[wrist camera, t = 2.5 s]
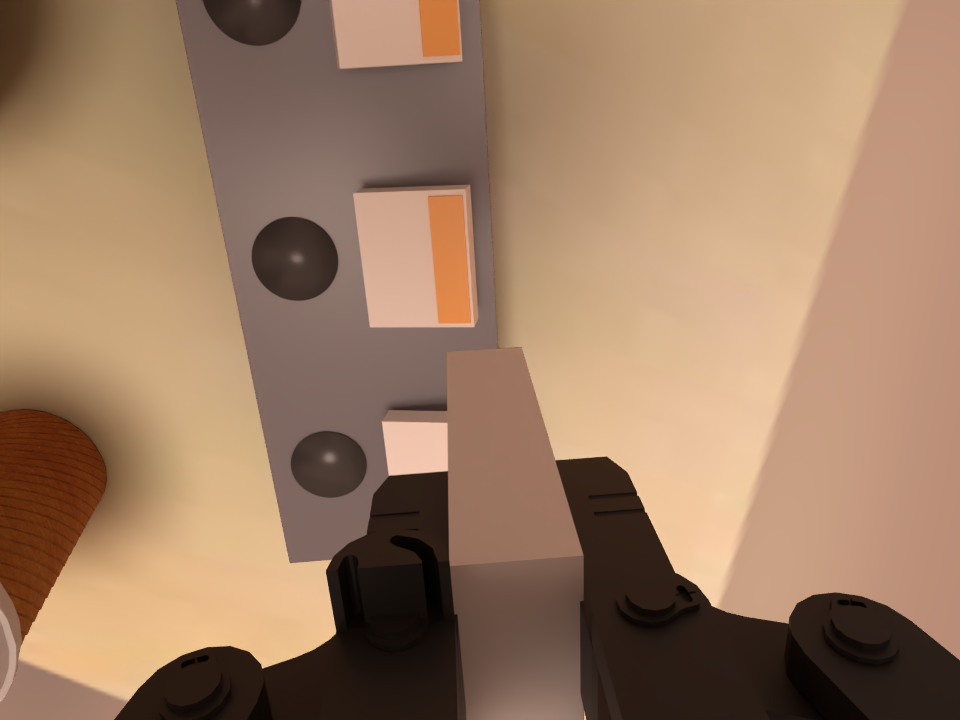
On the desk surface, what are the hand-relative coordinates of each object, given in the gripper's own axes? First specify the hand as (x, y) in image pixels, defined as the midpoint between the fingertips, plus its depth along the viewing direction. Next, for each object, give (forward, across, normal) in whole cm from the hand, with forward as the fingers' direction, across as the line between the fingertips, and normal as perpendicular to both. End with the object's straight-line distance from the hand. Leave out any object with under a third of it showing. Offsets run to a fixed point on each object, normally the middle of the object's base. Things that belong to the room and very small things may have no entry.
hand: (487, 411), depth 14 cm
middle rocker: (+12, -2, 0) cm, 12 cm away
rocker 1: (+12, -2, +9) cm, 15 cm away
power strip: (+17, -4, 0) cm, 17 cm away
